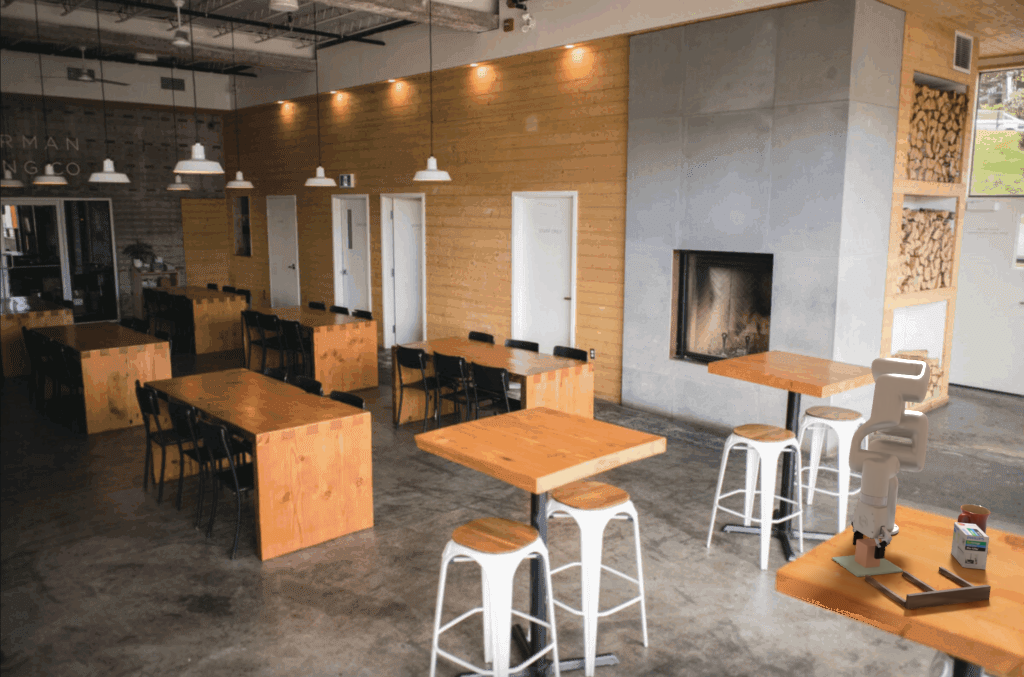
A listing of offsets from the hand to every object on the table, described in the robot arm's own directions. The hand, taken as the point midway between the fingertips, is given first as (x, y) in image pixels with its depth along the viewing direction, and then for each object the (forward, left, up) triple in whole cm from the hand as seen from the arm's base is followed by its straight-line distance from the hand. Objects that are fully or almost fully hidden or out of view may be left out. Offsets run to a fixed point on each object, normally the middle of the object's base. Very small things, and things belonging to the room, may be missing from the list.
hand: (868, 551), depth 233 cm
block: (0, 0, -4) cm, 4 cm away
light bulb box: (+4, +34, -5) cm, 34 cm away
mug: (-10, +48, -5) cm, 49 cm away
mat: (0, 0, -5) cm, 5 cm away
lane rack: (+16, +6, -5) cm, 18 cm away
